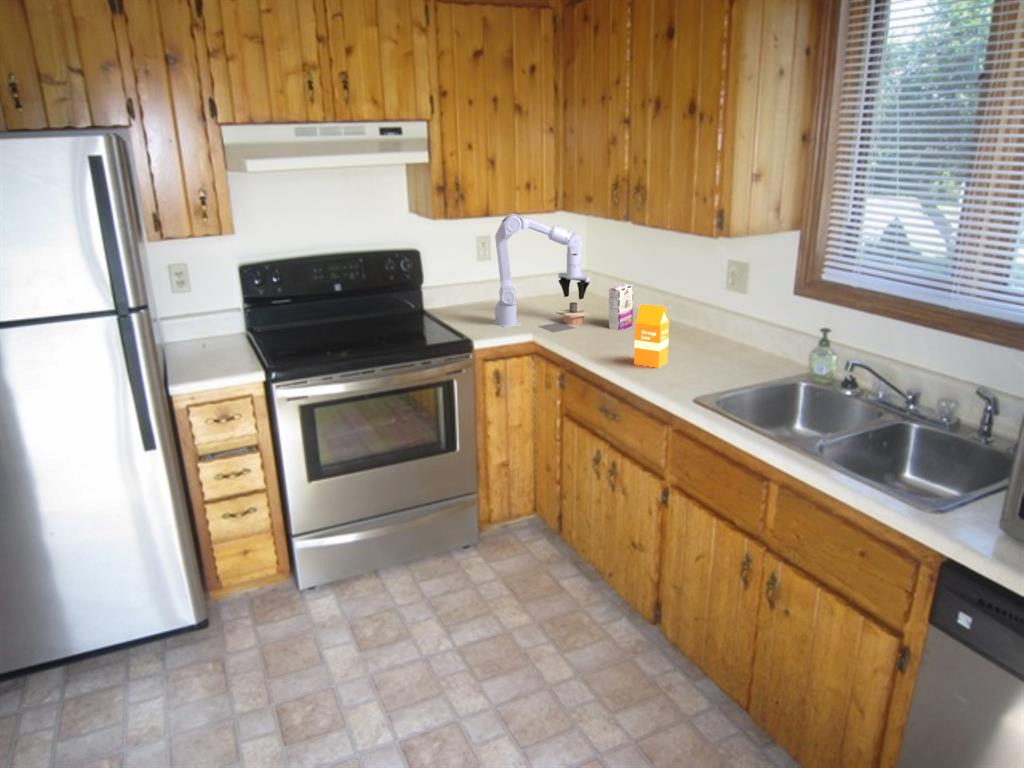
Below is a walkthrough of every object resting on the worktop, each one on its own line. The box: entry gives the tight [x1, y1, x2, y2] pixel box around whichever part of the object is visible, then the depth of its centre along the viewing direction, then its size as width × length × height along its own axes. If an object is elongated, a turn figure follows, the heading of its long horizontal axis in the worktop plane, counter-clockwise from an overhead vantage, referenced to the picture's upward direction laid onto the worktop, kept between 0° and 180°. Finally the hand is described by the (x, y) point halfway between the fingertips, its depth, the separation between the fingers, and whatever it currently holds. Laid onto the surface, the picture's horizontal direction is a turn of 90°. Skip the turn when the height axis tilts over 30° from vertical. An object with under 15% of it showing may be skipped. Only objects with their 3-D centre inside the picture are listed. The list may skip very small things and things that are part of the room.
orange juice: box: [633, 303, 670, 369], centre depth 245 cm, size 8×9×20 cm
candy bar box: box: [608, 283, 634, 331], centre depth 291 cm, size 11×5×16 cm, turn 143°
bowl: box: [563, 315, 585, 325], centre depth 302 cm, size 8×8×4 cm
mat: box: [538, 322, 576, 333], centre depth 295 cm, size 11×11×1 cm
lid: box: [555, 301, 592, 318], centre depth 300 cm, size 10×10×4 cm
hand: (573, 297), depth 299 cm, fingers open, 7 cm apart
